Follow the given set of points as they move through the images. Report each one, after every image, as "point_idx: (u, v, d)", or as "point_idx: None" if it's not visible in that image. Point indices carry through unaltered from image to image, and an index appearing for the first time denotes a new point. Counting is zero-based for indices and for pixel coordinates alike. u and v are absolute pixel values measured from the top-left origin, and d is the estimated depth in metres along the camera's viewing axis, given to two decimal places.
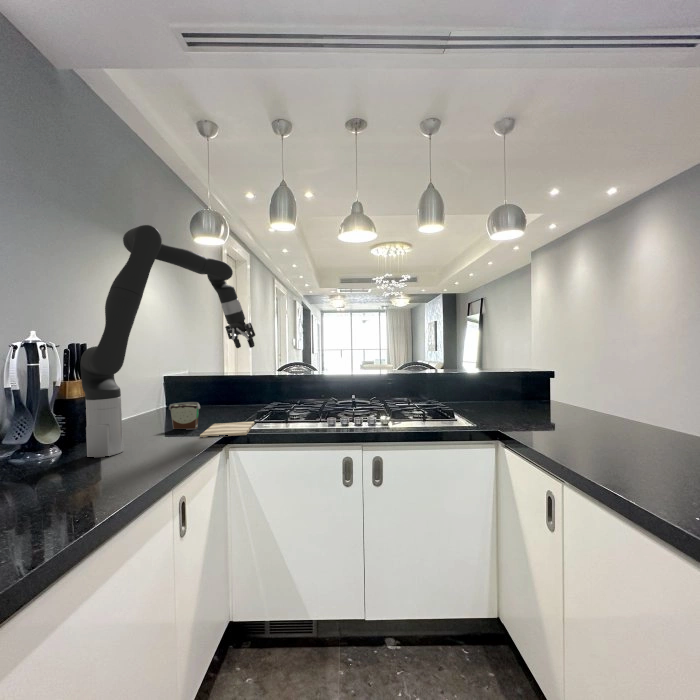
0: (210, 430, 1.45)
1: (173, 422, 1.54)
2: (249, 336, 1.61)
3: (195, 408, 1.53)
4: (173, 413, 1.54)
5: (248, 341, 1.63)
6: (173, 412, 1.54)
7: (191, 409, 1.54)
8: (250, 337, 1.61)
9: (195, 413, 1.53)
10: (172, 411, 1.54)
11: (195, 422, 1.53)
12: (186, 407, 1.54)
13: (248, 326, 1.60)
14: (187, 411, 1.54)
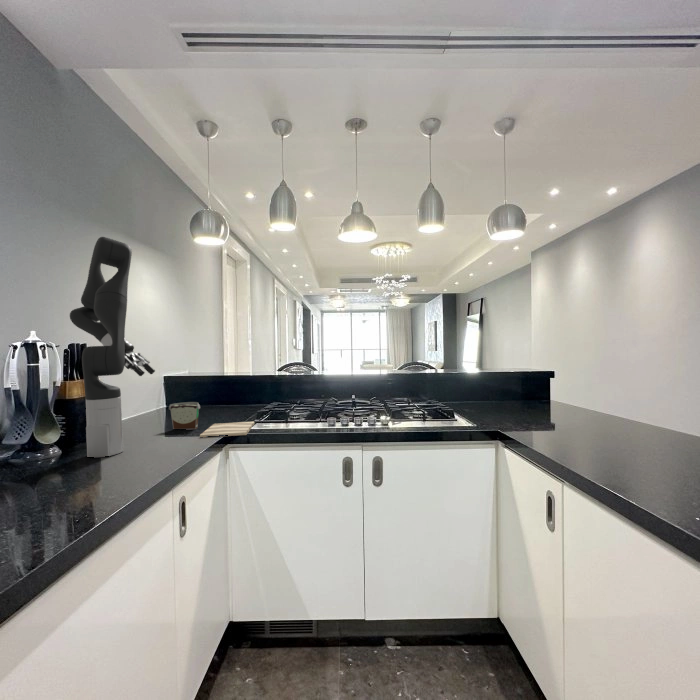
0: (210, 430, 1.45)
1: (173, 422, 1.54)
2: (148, 361, 1.59)
3: (195, 408, 1.53)
4: (173, 413, 1.54)
5: (149, 365, 1.58)
6: (173, 412, 1.54)
7: (191, 409, 1.54)
8: (149, 362, 1.60)
9: (195, 413, 1.53)
10: (172, 411, 1.54)
11: (195, 422, 1.53)
12: (186, 407, 1.54)
13: None
14: (187, 411, 1.54)
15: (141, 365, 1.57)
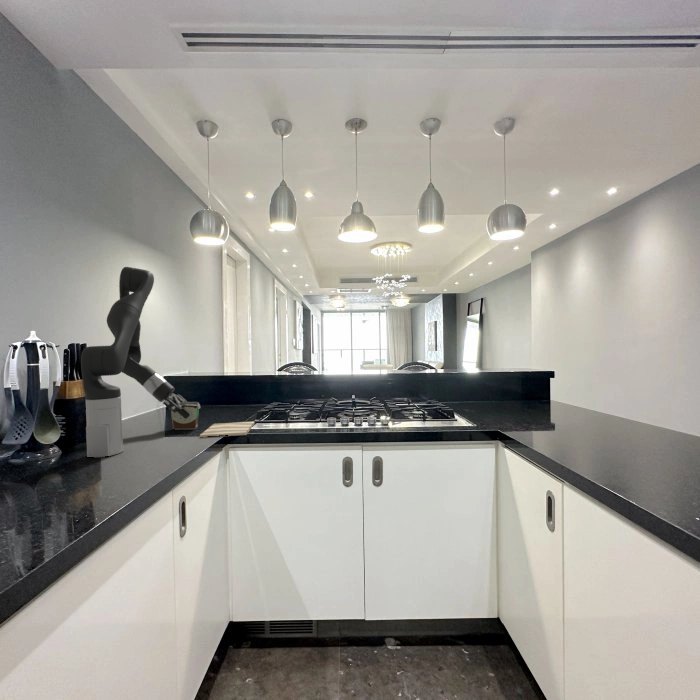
0: (210, 430, 1.45)
1: (173, 422, 1.54)
2: None
3: (195, 408, 1.53)
4: (173, 413, 1.54)
5: None
6: (173, 412, 1.54)
7: (191, 409, 1.54)
8: None
9: (195, 413, 1.53)
10: (172, 411, 1.54)
11: (195, 422, 1.54)
12: (186, 407, 1.54)
13: None
14: (187, 411, 1.54)
15: None
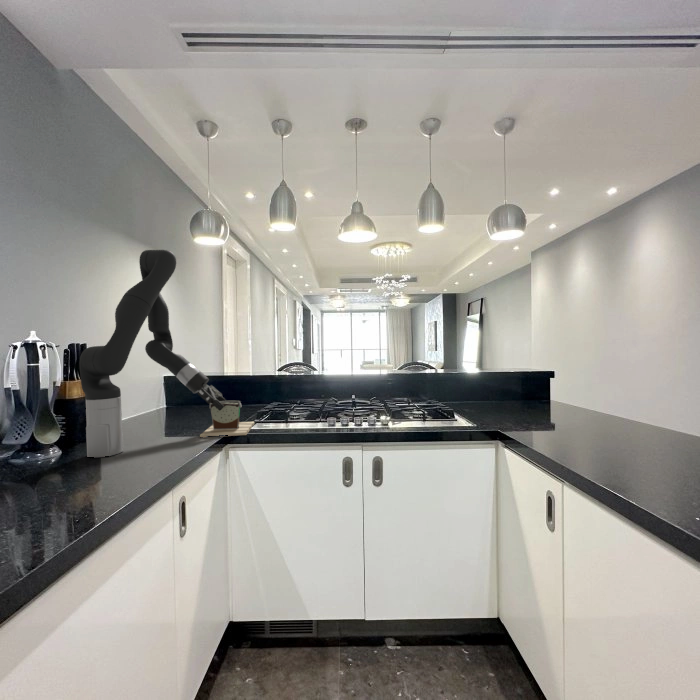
0: (210, 430, 1.45)
1: (213, 421, 1.46)
2: (220, 393, 1.54)
3: (237, 407, 1.46)
4: (214, 412, 1.46)
5: (223, 398, 1.52)
6: (213, 411, 1.46)
7: (233, 408, 1.46)
8: (221, 394, 1.54)
9: (237, 412, 1.46)
10: (212, 410, 1.46)
11: (237, 421, 1.46)
12: (227, 406, 1.46)
13: None
14: (228, 410, 1.46)
15: (215, 398, 1.51)
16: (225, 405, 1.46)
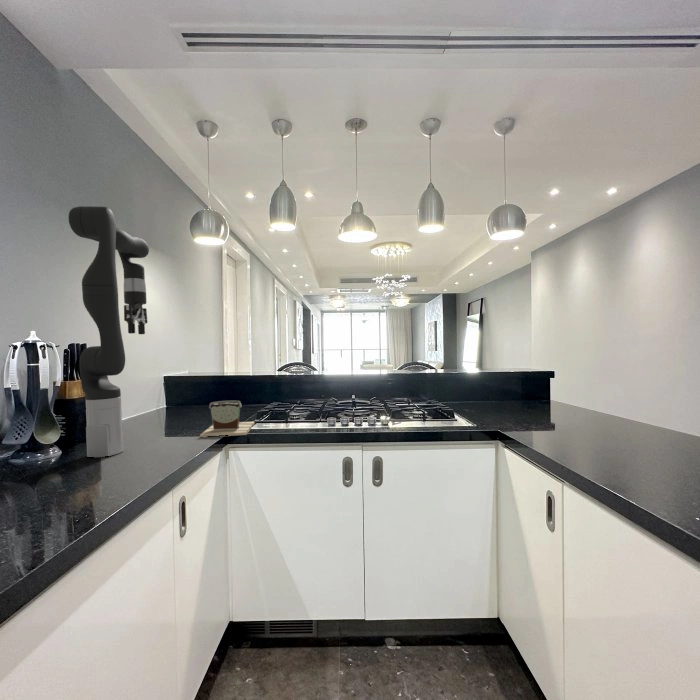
0: (210, 430, 1.45)
1: (213, 421, 1.46)
2: (146, 321, 1.56)
3: (237, 407, 1.46)
4: (214, 412, 1.46)
5: (144, 326, 1.54)
6: (213, 411, 1.46)
7: (233, 408, 1.46)
8: (146, 322, 1.56)
9: (237, 412, 1.46)
10: (212, 410, 1.46)
11: (237, 421, 1.46)
12: (227, 406, 1.46)
13: None
14: (228, 410, 1.46)
15: (138, 321, 1.53)
16: (225, 405, 1.46)
